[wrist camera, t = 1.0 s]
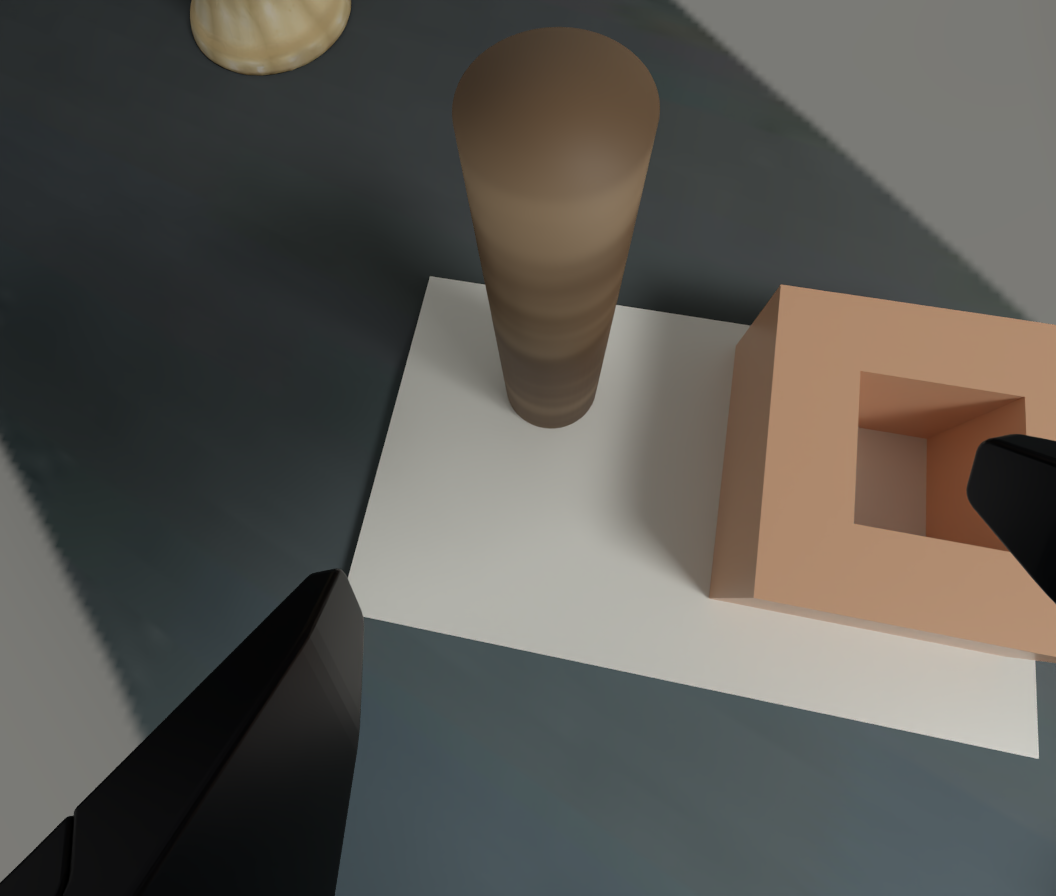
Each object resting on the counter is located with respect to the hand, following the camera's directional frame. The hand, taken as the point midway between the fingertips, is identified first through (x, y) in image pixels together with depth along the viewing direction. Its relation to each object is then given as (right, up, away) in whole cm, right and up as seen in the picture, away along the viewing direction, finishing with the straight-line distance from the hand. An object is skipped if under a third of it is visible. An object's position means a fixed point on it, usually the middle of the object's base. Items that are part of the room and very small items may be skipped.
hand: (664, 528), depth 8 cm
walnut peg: (-1, +4, +14) cm, 15 cm away
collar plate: (+4, 0, +14) cm, 14 cm away
